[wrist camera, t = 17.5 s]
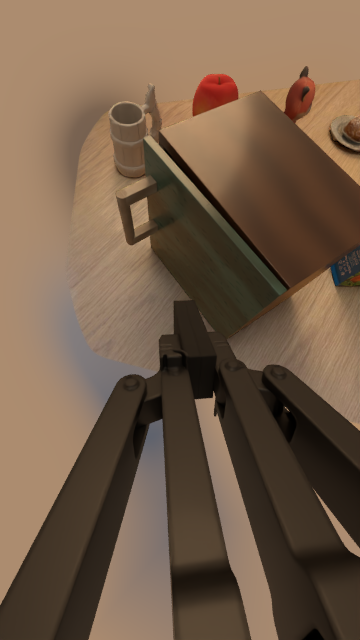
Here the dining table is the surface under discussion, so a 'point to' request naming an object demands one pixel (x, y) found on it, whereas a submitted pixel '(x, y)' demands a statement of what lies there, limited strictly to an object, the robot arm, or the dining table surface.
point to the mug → (133, 133)
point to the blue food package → (347, 269)
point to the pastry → (347, 131)
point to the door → (197, 245)
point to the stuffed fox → (300, 97)
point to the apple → (214, 93)
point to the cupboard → (270, 187)
